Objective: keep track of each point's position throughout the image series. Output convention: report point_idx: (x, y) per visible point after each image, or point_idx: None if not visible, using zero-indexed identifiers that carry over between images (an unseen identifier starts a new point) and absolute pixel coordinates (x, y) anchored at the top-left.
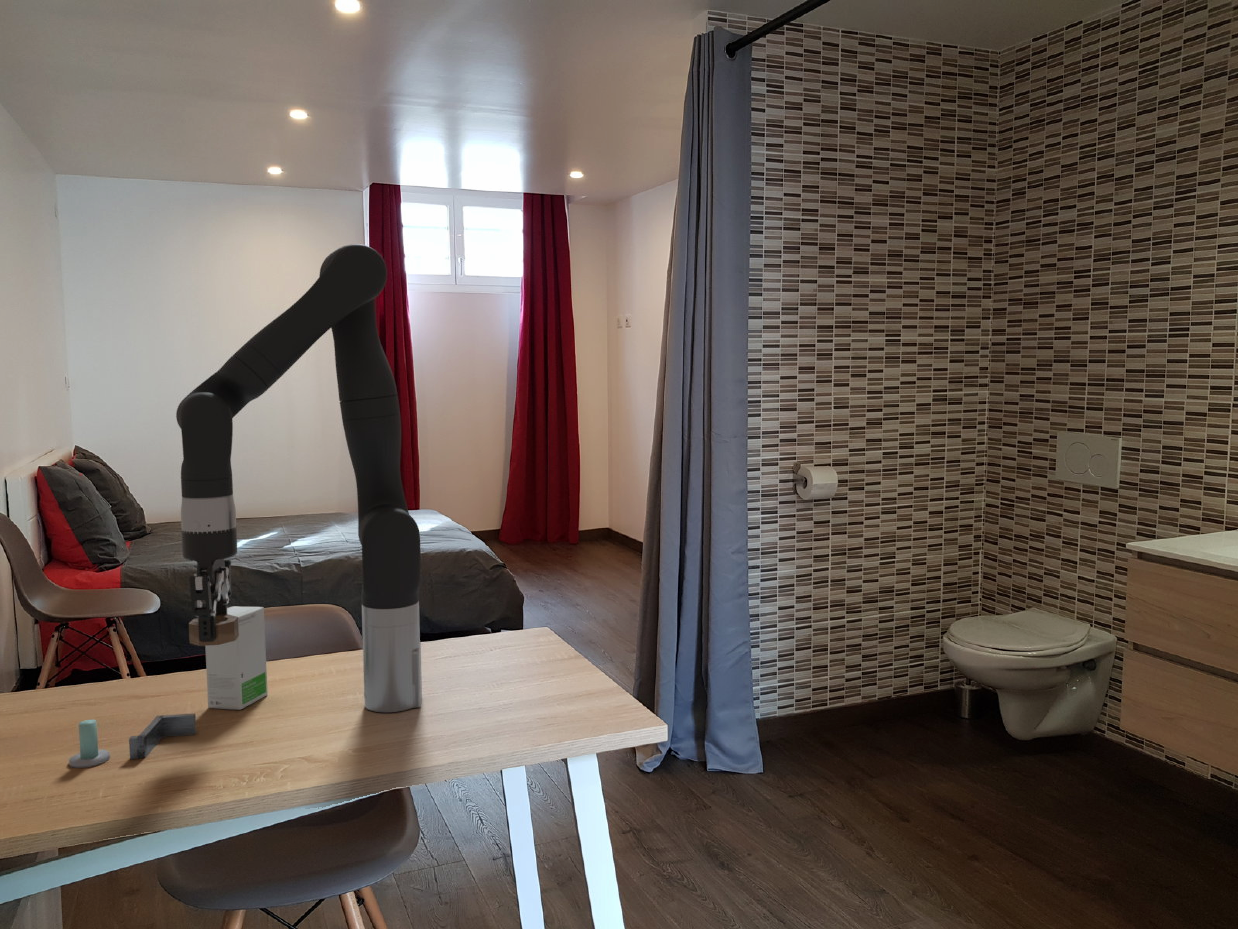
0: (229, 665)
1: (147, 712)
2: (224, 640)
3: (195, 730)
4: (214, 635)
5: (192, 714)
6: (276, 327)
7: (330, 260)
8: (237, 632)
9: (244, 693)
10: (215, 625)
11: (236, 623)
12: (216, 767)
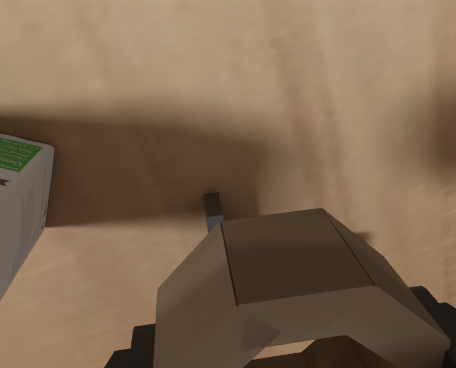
0: (3, 236)
1: (78, 329)
2: (370, 249)
3: (209, 197)
4: (435, 303)
5: (214, 220)
6: None
7: None
8: (255, 233)
9: (18, 155)
10: (450, 349)
11: (287, 271)
12: (415, 77)
